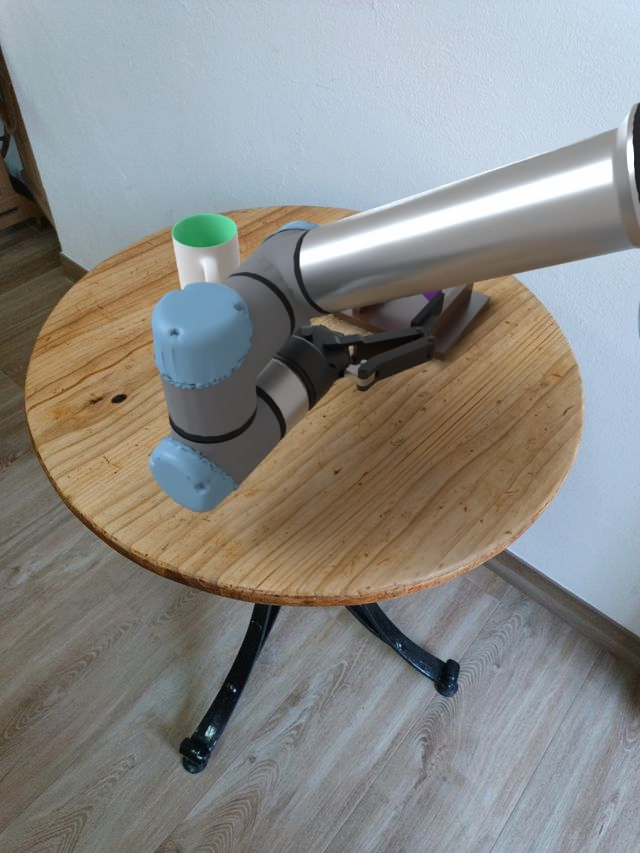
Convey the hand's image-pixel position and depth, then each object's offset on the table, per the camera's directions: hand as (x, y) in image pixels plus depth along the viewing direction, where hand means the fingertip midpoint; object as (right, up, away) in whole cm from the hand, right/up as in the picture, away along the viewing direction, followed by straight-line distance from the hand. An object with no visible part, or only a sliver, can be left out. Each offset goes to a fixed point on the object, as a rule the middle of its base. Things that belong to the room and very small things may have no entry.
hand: (388, 282), depth 80 cm
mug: (-22, -1, +12) cm, 25 cm away
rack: (+4, -1, +11) cm, 12 cm away
